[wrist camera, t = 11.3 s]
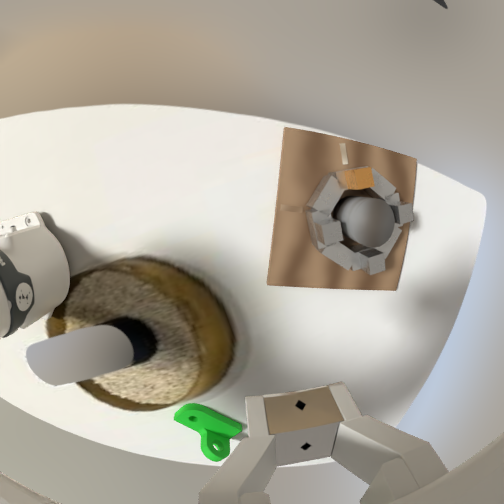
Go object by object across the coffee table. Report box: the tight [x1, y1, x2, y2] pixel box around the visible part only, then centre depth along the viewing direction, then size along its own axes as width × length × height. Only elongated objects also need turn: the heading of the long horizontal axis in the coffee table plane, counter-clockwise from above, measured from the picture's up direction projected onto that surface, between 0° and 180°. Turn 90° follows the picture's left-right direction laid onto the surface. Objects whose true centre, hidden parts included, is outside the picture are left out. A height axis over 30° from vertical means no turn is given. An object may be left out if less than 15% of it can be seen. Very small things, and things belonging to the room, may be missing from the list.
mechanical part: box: [174, 403, 242, 462], centre depth 42 cm, size 12×6×8 cm, turn 49°
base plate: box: [267, 127, 417, 291], centre depth 34 cm, size 22×22×8 cm
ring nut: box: [305, 166, 414, 275], centre depth 34 cm, size 14×14×6 cm
